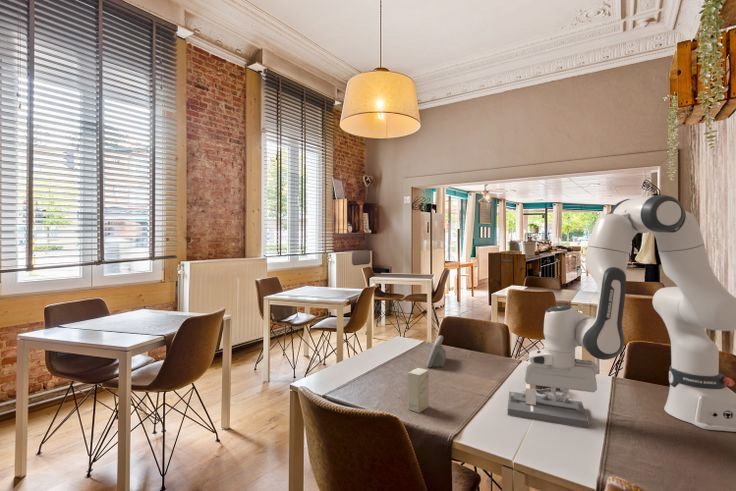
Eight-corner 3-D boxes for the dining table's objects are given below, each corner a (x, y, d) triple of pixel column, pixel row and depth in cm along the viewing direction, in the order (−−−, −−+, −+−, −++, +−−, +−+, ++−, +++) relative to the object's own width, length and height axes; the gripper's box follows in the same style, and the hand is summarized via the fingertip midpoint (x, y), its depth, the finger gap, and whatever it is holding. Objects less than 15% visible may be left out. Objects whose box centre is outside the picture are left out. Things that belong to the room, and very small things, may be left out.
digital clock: (432, 356, 177) (432, 333, 177) (451, 359, 173) (451, 336, 172) (419, 366, 163) (419, 342, 163) (439, 370, 159) (439, 345, 158)
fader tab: (535, 400, 124) (535, 384, 124) (535, 405, 120) (535, 388, 120) (525, 398, 125) (525, 383, 125) (525, 403, 122) (525, 387, 122)
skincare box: (419, 413, 120) (419, 375, 120) (407, 409, 123) (407, 372, 123) (429, 406, 125) (429, 369, 125) (417, 402, 128) (417, 366, 128)
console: (581, 407, 124) (581, 395, 123) (588, 428, 111) (588, 414, 111) (509, 397, 132) (509, 385, 132) (507, 414, 119) (507, 402, 119)
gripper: (595, 358, 118) (595, 402, 119) (524, 351, 126) (524, 392, 127) (599, 364, 113) (599, 410, 113) (524, 357, 121) (524, 400, 121)
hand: (559, 401), depth 120 cm, fingers closed
